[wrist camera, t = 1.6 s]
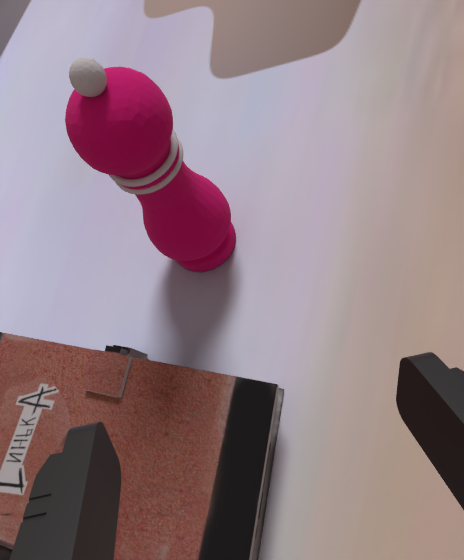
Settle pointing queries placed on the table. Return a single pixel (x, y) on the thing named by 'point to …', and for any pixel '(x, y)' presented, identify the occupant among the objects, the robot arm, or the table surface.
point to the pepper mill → (148, 162)
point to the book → (143, 445)
